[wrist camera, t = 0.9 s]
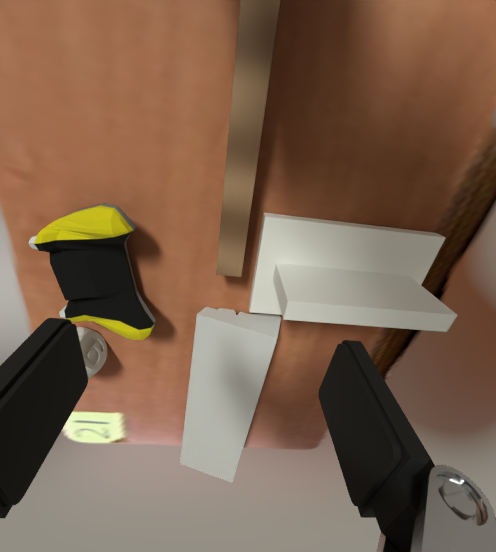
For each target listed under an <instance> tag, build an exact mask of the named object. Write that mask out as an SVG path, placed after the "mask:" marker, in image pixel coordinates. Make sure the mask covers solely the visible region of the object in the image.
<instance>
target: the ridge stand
mask: <svg viewBox="0 0 496 552" xmlns="http://www.w3.org/2000/svg"><path fill="white" fill-rule="evenodd" d="M445 238H446V237H444V236H442V235H440V234H438V233H433V232H424V231H416V230H407V229H399V228H390V227H382V226H374V225H365V224H357V223H348V222H340V221H331V220H323V219H314V218H306V217H297V216H289V215H281V214H272V213H264V214H263V220H262V226H261V233H260V239H259V245H258V251H257V258H256V264H255V270H254V276H253V283H252V289H251V295H250V301H249V312H253V313H266V314H279V315H282V316H283V320H296V321H310V322H323V323H336V324H349V325H362V326H375V327H389V328H402V329H415V330H428V331H441V332H447V331H448V329H449V328H450V326H451V325H452V323H453V322H454V320H455V318H456V316H457V314H455V313H454V312H453V311H452V310H451V309H449V308H448V307H447V306H446V305H444V304H443V303H442V302H441V301H440V300H438V299H437V298H436V297H435V296H433V295H432V294H431V293H430V292H428V291H427V290H426V289H425V288H424V287H422V286H421V284H422V282H423V281H424V279H425V277H426V275H427V273H428V271H429V269H430V267H431V265H432V263H433V261H434V259H435V257H436V256H437V254H438V252H439V250H440V248H441V246H442V244H443V242H444V240H445Z"/></svg>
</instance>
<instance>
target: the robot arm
mask: <svg viewBox="0 0 496 552" xmlns="http://www.w3.org/2000/svg"><path fill="white" fill-rule="evenodd" d="M87 383H88V374H87V370H86V366H85V362H84V357H83V353H82V349H81V344H80V340H79V336H78V332H77V327H76V325H75V324H72V323H71V321H70V320H69V319H58V318H48V319H47V320H45V321H44V322H43V323H42V324H41V325H40V326H39V327H38V328H37V329H36V330H35V331H34V332H33V333H32V334H31V335H30V336H29V337H28V339H27V340H25V341H24V342H23V343H22V344H21V346H20V347H19V348H18V349H17V350H16V351H15V352H14V353H13V354H12V355H11V356H10V357H9V358H8V359H7V360H6V361H5V362H4V363H3V364H2V365H1V366H0V518H5V517H6V515H7V514H8V512H9V510H10V509H11V507H12V505H16V504H17V503H19V502H20V500H21V499H22V498H23V496H24V495H25V493H26V491H27V489H28V488H29V486H30V484H31V482H32V481H33V479H34V477H35V476H36V474H37V472H38V470H39V468H40V467H41V465H42V463H43V462H44V460H45V458H46V456H47V454H48V453H49V451H50V449H51V448H52V446H53V444H54V442H55V440H56V439H57V437H58V435H59V434H60V432H61V430H62V428H63V427H64V425H65V423H66V421H67V420H68V418H69V416H70V415H71V413H72V411H73V409H74V408H75V406H76V404H77V402H78V401H79V399H80V397H81V395H82V394H83V392H84V390H85V388H86V386H87ZM319 400H320V403H321V406H322V409H323V413H324V416H325V419H326V422H327V425H328V428H329V432H330V435H331V438H332V441H333V444H334V447H335V451H336V454H337V457H338V460H339V463H340V467H341V470H342V473H343V476H344V479H345V482H346V486H347V489H348V492H349V495H350V498H351V501H352V503H353V504H354V505H355V506H358V509H359V513H360V516H361V517H376V519H377V522H378V525H379V527H380V530H381V534H380V539H379V543H378V548H377V552H496V518H495V515H494V511H493V508H492V506H491V505H490V503H489V501H488V499H487V498H486V496H485V495H484V493H483V492H482V491H481V489H480V488H479V487H478V486H477V485H476V484H475V483H474V482H473V481H472V480H471V479H469V478H468V477H467V476H465V475H464V474H463V473H462V472H460V471H458V470H456V469H454V468H452V467H449V466H445V465H437V466H435V465H434V463H433V462H432V460H431V458H430V456H429V455H428V453H427V451H426V450H425V448H424V446H423V445H422V443H421V441H420V440H419V438H418V436H417V435H416V433H415V431H414V430H413V428H412V426H411V425H410V423H409V421H408V419H407V418H406V416H405V414H404V413H403V411H402V409H401V408H400V406H399V404H398V403H397V401H396V399H395V398H394V396H393V394H392V393H391V391H390V389H389V388H388V386H387V384H386V383H385V381H384V379H383V378H382V376H381V374H380V372H379V371H378V369H377V367H376V366H375V364H374V362H373V361H372V359H371V357H370V356H369V354H368V352H367V351H366V349H365V347H364V346H363V344H362V343H361V342H360V341H349V340H344V341H343V342H342V343H341V344H338V346H337V348H336V350H335V353H334V355H333V357H332V360H331V362H330V365H329V367H328V370H327V372H326V374H325V377H324V379H323V382H322V384H321V386H320V389H319Z"/></svg>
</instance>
